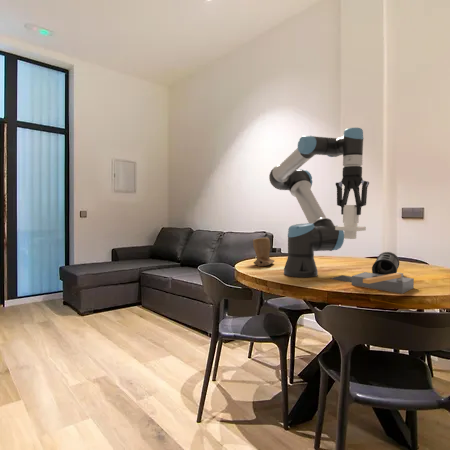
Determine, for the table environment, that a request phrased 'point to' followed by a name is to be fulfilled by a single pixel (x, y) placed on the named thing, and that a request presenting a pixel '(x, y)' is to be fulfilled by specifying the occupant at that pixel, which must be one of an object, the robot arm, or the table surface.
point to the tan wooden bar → (382, 278)
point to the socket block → (384, 283)
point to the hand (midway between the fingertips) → (350, 222)
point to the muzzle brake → (386, 264)
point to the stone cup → (262, 251)
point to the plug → (349, 223)
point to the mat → (343, 278)
